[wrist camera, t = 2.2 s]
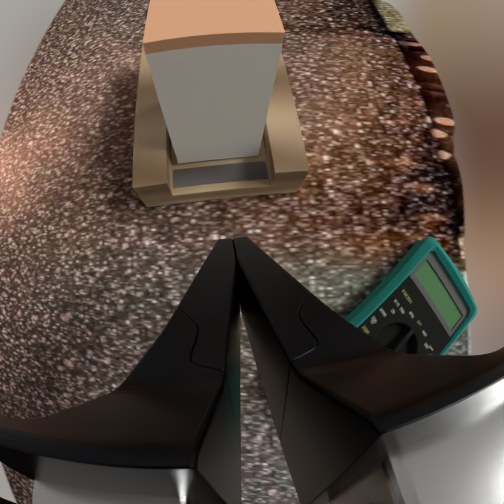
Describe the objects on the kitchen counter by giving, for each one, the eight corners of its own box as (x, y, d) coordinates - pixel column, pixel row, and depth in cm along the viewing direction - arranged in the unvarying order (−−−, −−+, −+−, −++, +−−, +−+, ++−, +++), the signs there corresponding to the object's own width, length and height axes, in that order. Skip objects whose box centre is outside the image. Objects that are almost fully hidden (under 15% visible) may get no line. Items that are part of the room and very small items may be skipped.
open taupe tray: (296, 192, 21) (313, 163, 16) (147, 207, 20) (127, 181, 15) (268, 55, 23) (275, 17, 18) (151, 65, 22) (141, 28, 17)
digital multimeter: (265, 377, 19) (271, 389, 16) (416, 238, 21) (438, 229, 18) (329, 447, 18) (342, 464, 15) (461, 310, 21) (485, 309, 18)
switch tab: (258, 155, 19) (285, 32, 9) (178, 163, 18) (142, 43, 8) (250, 105, 20) (267, -17, 10) (177, 112, 19) (152, -9, 9)
